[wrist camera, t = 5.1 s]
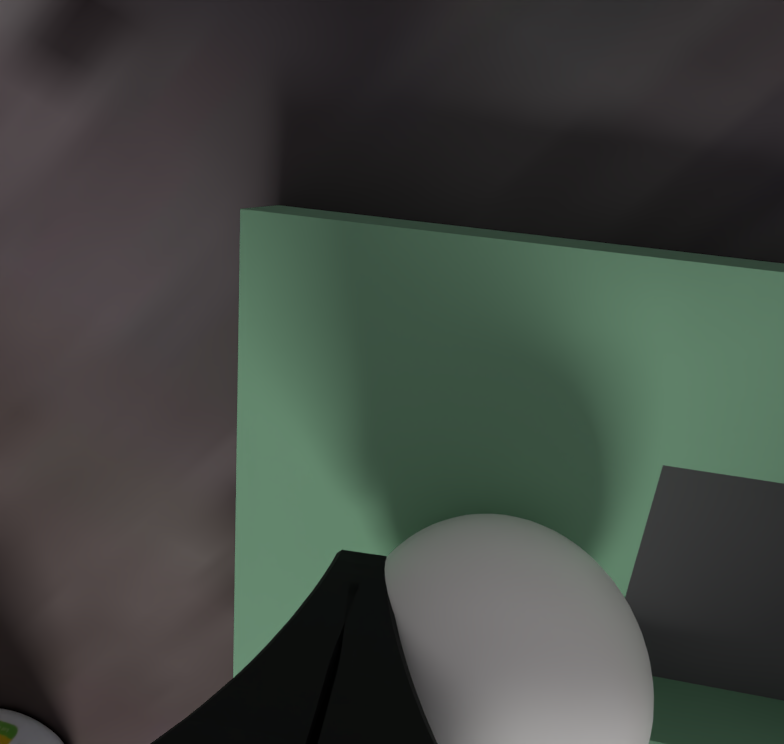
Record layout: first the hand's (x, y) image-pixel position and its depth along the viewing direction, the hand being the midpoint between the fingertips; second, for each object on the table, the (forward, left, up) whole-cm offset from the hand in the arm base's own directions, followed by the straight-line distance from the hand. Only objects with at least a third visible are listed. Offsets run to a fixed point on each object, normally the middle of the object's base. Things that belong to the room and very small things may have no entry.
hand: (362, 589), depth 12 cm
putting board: (-1, -7, -5) cm, 9 cm away
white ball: (-1, -3, +1) cm, 3 cm away
